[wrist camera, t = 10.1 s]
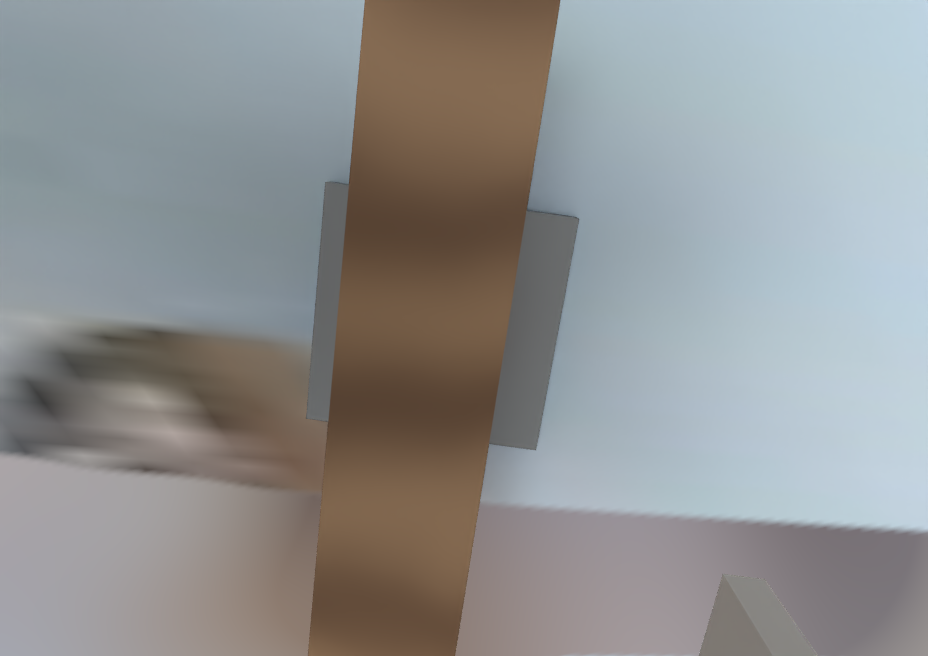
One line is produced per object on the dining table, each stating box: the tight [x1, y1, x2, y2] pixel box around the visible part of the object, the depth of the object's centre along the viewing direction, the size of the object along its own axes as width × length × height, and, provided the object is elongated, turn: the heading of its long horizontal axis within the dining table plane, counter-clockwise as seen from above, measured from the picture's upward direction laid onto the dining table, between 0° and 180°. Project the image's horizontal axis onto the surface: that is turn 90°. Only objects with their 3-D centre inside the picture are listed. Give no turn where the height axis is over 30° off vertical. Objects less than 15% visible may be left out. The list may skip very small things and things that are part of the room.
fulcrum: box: [306, 182, 579, 450], centre depth 28 cm, size 12×12×8 cm
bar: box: [308, 0, 560, 656], centre depth 21 cm, size 26×5×5 cm, turn 172°
